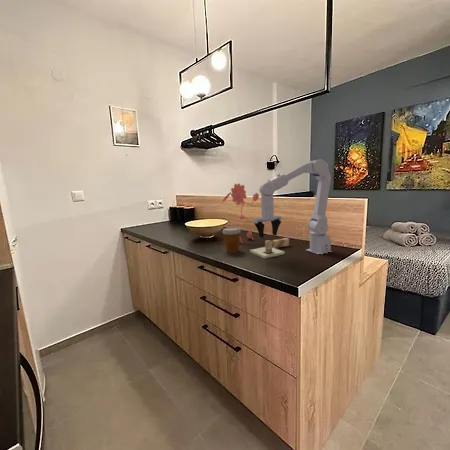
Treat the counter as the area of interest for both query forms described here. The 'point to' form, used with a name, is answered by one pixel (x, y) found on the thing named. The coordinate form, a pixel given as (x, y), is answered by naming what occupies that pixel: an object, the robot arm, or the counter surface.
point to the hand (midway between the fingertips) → (268, 236)
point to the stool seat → (262, 254)
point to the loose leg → (268, 247)
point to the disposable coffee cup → (232, 239)
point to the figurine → (238, 196)
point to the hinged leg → (280, 243)
